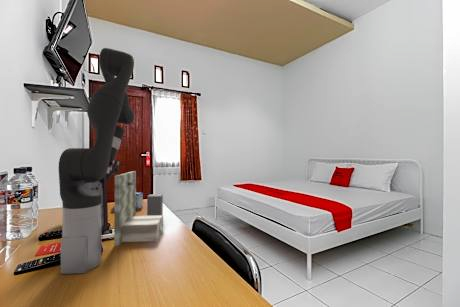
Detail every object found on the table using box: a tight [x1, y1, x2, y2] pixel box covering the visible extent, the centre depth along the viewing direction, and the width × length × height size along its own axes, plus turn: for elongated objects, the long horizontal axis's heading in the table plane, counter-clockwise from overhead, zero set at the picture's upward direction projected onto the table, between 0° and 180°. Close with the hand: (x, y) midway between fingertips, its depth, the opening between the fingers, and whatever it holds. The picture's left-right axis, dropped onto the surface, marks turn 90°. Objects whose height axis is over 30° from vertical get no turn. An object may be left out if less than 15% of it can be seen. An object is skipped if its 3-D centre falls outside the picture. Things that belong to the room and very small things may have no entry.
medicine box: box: [136, 192, 144, 210], centre depth 127 cm, size 8×4×9 cm, turn 81°
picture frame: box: [83, 172, 109, 232], centre depth 86 cm, size 17×10×25 cm, turn 168°
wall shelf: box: [113, 170, 164, 247], centre depth 86 cm, size 18×14×24 cm
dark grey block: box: [146, 193, 164, 216], centre depth 104 cm, size 4×6×12 cm
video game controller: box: [110, 205, 115, 213], centre depth 117 cm, size 10×5×7 cm, turn 47°
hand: (96, 180), depth 99 cm, fingers open, 8 cm apart
